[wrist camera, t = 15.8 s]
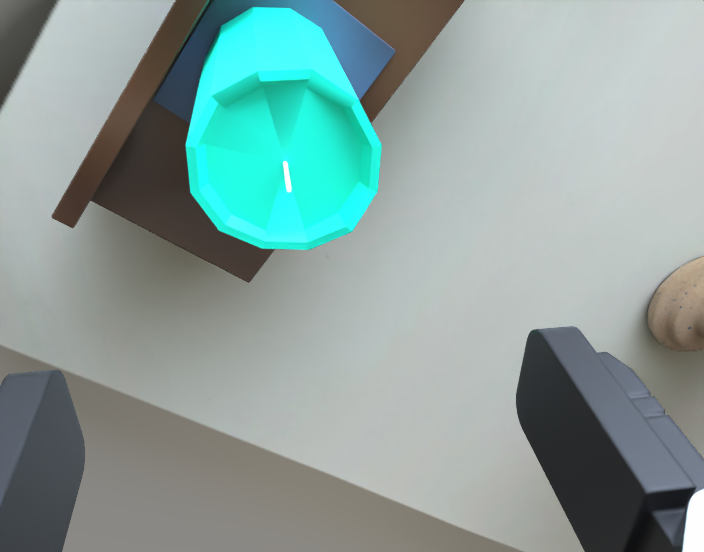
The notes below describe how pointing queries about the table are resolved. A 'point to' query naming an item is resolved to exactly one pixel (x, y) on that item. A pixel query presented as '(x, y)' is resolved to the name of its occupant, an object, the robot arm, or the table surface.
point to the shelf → (179, 99)
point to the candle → (279, 135)
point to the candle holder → (680, 309)
